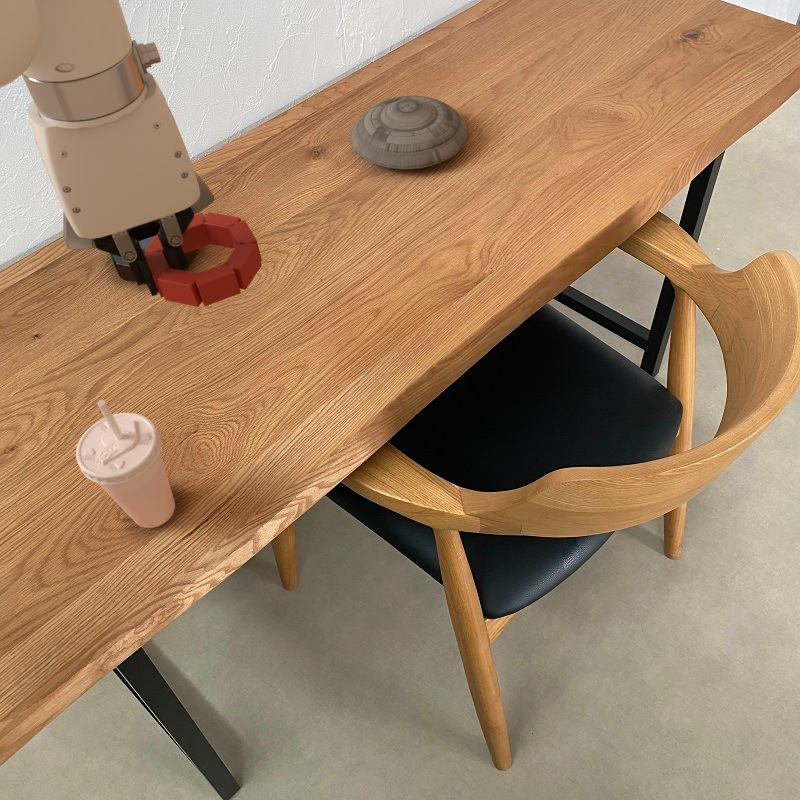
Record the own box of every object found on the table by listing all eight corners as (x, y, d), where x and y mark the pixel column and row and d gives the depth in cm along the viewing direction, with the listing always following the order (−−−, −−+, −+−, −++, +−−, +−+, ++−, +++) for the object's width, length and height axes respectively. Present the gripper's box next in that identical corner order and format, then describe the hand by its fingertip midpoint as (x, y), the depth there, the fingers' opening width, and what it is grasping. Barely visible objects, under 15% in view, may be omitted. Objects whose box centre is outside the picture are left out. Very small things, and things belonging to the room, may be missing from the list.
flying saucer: (379, 192, 96) (375, 152, 92) (334, 132, 105) (329, 93, 101) (489, 156, 99) (490, 116, 95) (436, 101, 108) (435, 62, 104)
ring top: (170, 319, 66) (162, 298, 64) (143, 256, 71) (134, 235, 69) (274, 281, 68) (268, 259, 66) (239, 222, 73) (233, 201, 72)
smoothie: (204, 492, 70) (157, 390, 59) (162, 552, 66) (103, 455, 56) (146, 469, 72) (89, 366, 61) (101, 526, 68) (33, 427, 58)
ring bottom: (126, 293, 87) (118, 277, 85) (107, 246, 93) (100, 230, 91) (206, 265, 89) (200, 249, 88) (183, 221, 95) (178, 204, 93)
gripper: (182, 26, 58) (237, 227, 73) (-38, 88, 55) (66, 286, 69) (212, 71, 54) (265, 275, 68) (-25, 141, 50) (83, 341, 65)
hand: (164, 279), depth 68 cm, fingers closed on ring top, 1 cm apart
